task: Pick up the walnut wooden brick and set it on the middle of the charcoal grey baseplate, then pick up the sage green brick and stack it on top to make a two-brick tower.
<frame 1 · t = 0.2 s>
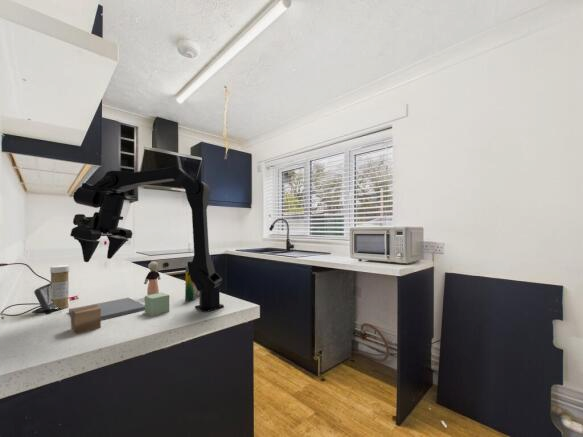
hand: (98, 260, 83), 15 cm above the worktop, tool pointing down, fingers open, 9 cm apart
walnut brick: (85, 328, 67), on the worktop
baseplate: (108, 310, 81), on the worktop
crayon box: (193, 298, 95), on the worktop
sage brick: (157, 312, 79), on the worktop
sprinkles bottle: (59, 308, 84), on the worktop
grandmother figurine: (153, 296, 98), on the worktop
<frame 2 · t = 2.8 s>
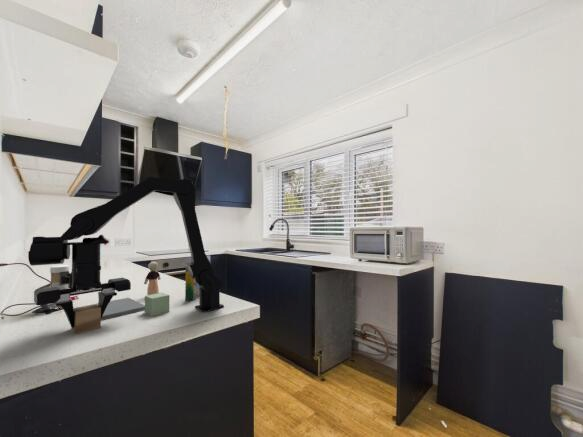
hand: (86, 324, 67), 1 cm above the worktop, tool pointing down, fingers closed on walnut brick, 5 cm apart
walnut brick: (86, 328, 67), on the worktop, touching gripper
everything else where it was.
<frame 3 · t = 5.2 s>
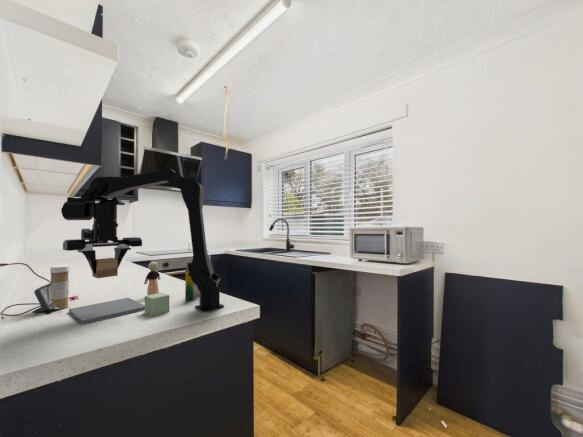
hand: (105, 272, 79), 12 cm above the worktop, tool pointing down, fingers closed on walnut brick, 5 cm apart
walnut brick: (105, 276, 79), point 11 cm above the worktop, touching gripper
everything else where it was.
when the fingers open (3 cm above the worktop, at t = 7.5 s): walnut brick stays where it is, resting on baseplate.
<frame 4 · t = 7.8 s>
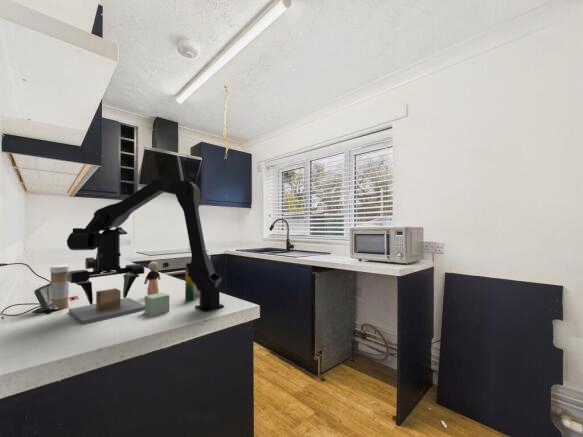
hand: (108, 300, 81), 3 cm above the worktop, tool pointing down, fingers open, 8 cm apart
walnut brick: (108, 307, 81), point 1 cm above the worktop, touching baseplate
everything else where it was.
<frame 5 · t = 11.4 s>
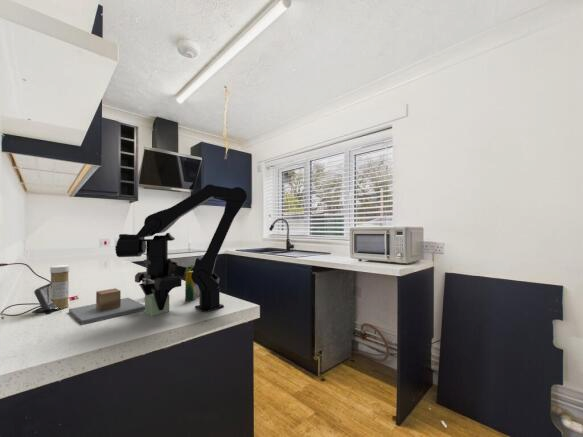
hand: (157, 308, 79), 1 cm above the worktop, tool pointing down, fingers closed on sage brick, 5 cm apart
sage brick: (157, 311, 79), on the worktop, touching gripper
everything else where it was.
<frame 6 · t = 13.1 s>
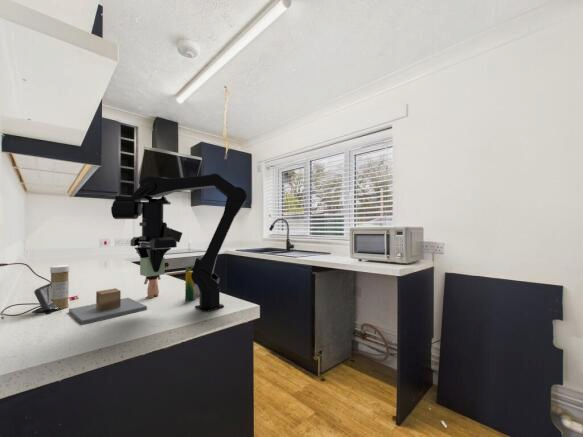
hand: (152, 271, 80), 12 cm above the worktop, tool pointing down, fingers closed on sage brick, 5 cm apart
sage brick: (152, 274, 80), point 11 cm above the worktop, touching gripper
everything else where it was.
when the fingers open (8 cm above the worktop, at t = 15.0 s): sage brick stays where it is, resting on walnut brick.
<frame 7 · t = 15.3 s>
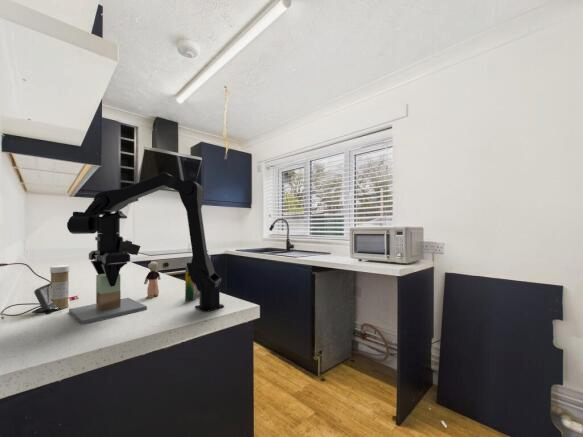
hand: (108, 284, 81), 8 cm above the worktop, tool pointing down, fingers open, 8 cm apart
walnut brick: (108, 307, 81), point 1 cm above the worktop, touching baseplate, sage brick
sage brick: (108, 291, 81), point 6 cm above the worktop, touching walnut brick
everything else where it was.
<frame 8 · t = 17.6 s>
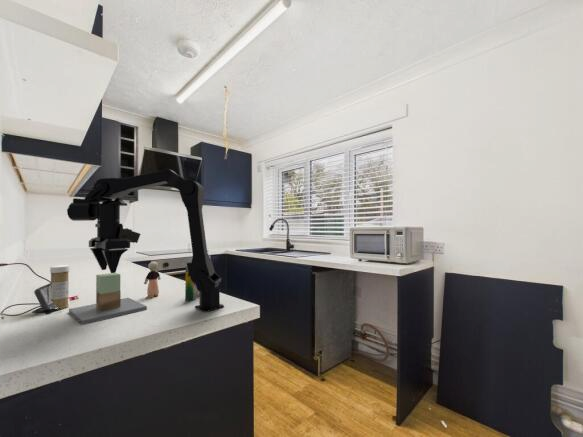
hand: (108, 271, 81), 12 cm above the worktop, tool pointing down, fingers open, 9 cm apart
nothing on the worktop moved.
at the end: walnut brick inside the target area on the baseplate (0.0 cm from its centre), point 1.0 cm above the baseplate's base; sage brick 0.1 cm off-centre on the walnut brick, point 5.0 cm above the walnut brick's base; sage brick tilted 0° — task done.
